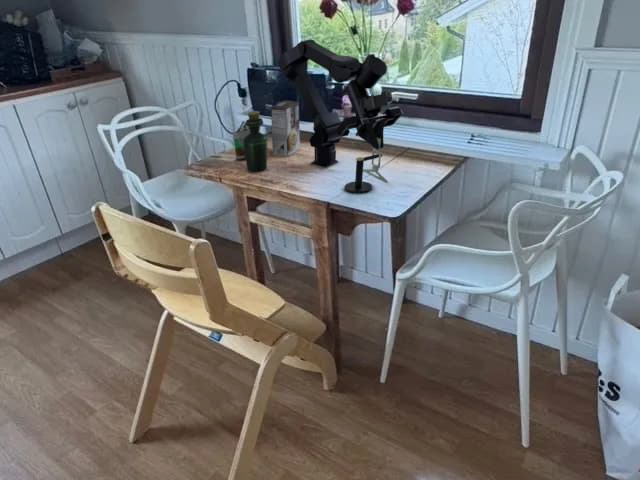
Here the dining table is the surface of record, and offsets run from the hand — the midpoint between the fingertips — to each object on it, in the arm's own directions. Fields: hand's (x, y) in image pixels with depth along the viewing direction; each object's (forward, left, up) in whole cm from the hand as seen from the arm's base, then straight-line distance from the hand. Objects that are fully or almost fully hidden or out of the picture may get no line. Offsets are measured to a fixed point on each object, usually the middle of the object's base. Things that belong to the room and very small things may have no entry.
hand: (380, 148), depth 147 cm
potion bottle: (-41, -11, -11) cm, 44 cm away
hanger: (-1, 0, -9) cm, 9 cm away
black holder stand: (-2, -3, -11) cm, 12 cm away
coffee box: (-45, +7, -11) cm, 46 cm away
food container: (-53, -4, -11) cm, 54 cm away
